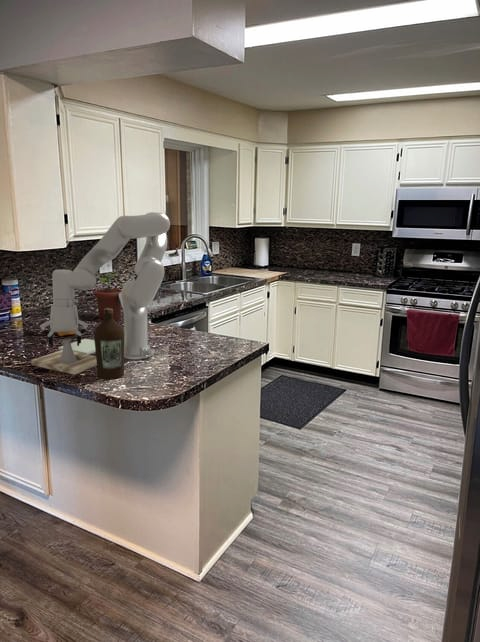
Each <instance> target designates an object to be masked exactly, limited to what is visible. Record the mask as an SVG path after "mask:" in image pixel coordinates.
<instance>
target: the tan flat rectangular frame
mask: <svg viewBox="0 0 480 642" xmlns="http://www.w3.org/2000/svg"><path fill="white" fill-rule="evenodd" d="M62 351H63V350H58V351H56V352H52V353H49V354H47V355H43V356H40V357H36V358H33V359H31V366H34V367H39V368H43V369H48V370H52V371H57V372H61V373H66V374H68V375H69V374H71V375H76V374H77V375H78V374H79V373H82V372H85V371H86V370H87V371H88V370H89V369H92V368H95V367H97V360H96V355H91V354H88V355H87V354H82V353H77V352H74V355H75V357H76V359H77V361H76V362H74V363H71V364H68V365H67V364H63V363H59V360H60V357H61V354H62Z"/></svg>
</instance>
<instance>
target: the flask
mask: <svg viewBox="0 0 480 642" xmlns="http://www.w3.org/2000/svg"><path fill="white" fill-rule="evenodd" d="M62 342H63V344H62V346H63V351H62V354H61V357H60V360H59V362H58V363H63V364H67V365H68V364H71V363H74V362H76V361H78V360H77V359H76V357H75V355H74V352H73V350H72V347H71V343H72V338H64V339H62Z"/></svg>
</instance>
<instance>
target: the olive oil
mask: <svg viewBox="0 0 480 642" xmlns="http://www.w3.org/2000/svg"><path fill="white" fill-rule="evenodd" d="M124 337H125V336H124V327H122V326H121V325H120V324H119V323H118V321H117V320H116V321H115V320H114V319H113V309H112V308H106V309H104V320H103V321H102V322H99V324H98V325H97V327H96V328H95V330H94V334H93V338H94V339H93V340H94V341H95V350H96V352H95V356H96V360H97V366H96V369H97V371H96V372H97V377H98V378H99V379H101V380H116V379H117V380H118V379H120V378H122V377H123V376H124V375H125V358H124V351H125V344H124Z"/></svg>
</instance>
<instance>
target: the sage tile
mask: <svg viewBox="0 0 480 642" xmlns="http://www.w3.org/2000/svg"><path fill="white" fill-rule="evenodd" d="M71 347H72V350H73V352H77V353H82V354H87V355H91V354H94V353H96V350H95V341H94V339H88V338H83V339H81V343H79V346H77V341H74V342H71ZM57 349H58V351H61V350H63V345H61V346H58V348H57Z"/></svg>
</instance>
